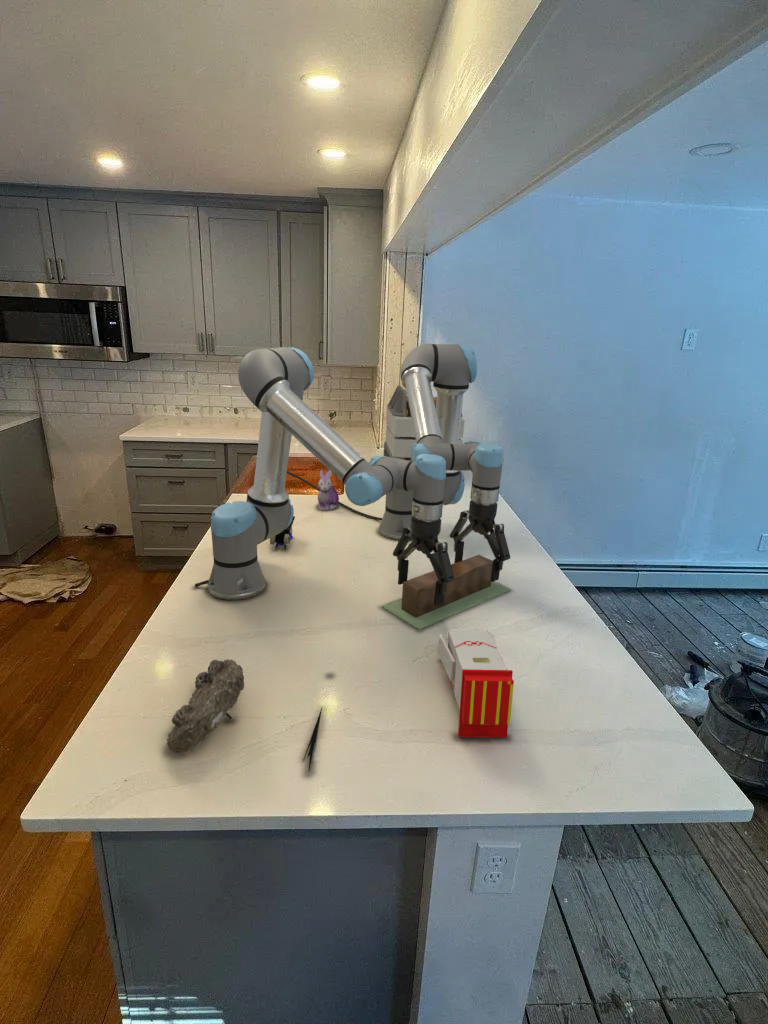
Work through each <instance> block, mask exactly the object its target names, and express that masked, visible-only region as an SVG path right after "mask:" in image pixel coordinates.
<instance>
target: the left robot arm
mask: <svg viewBox="0 0 768 1024" xmlns="http://www.w3.org/2000/svg"><path fill="white" fill-rule="evenodd" d="M314 371H315V370H314V366H313V363H312V361H311V360H310V359H309V357H308V355H307V354H306V353H305V352H303V351H302V350H301V349H299V348H296V347H291V346H279V347H272V348H271V347H269V348H257V349H253V350H251V351H250V352H248V353H246V354H245V356H243V358H242V359H241V361H240V363H239V365H238V370H237V377H238V378H237V379H238V382H239V386H240V388H241V390H242V391H243V393H244V395H245V396H246V397H247V399H248V400H249V401H250V403H252V404H253V406H255V407H256V408H257V409H258V410H259V411H260V412H261V416H260V418H261V419H260V425H259V433H258V444H257V453H256V459H255V461H256V462H255V471H254V480H253V485H251V486H250V487H249V488H248V489H247V493H246V501H244V500H242V501H241V500H238V501H237V500H236V501H232V502H226V503H223V504H221V505H219V506H217V507H216V508H215V509H214V510H213V511H212V513H211V518H210V532H211V545H212V557H213V565H212V568H211V571H210V574H209V578H208V579H207V580H202V581H199V582H197V583H194V586H195V588H198V587H201V586H204V585H207V588H208V589H207V590H208V593H209V594H210V595H211V596H213V597H214V598H217V599H220V600H226V601H239V600H246V599H250V598H253V597H254V596H257V595H260V593H262V592H263V591H264V590H265V589H266V579H265V575H264V573H263V570H262V567H261V565H260V563H259V559H258V557H259V556H258V546H259V544H262V543H263V542H265V541H267V540H270V538H271V537H273V536H275V535H277V534H279V533H281V532H282V531H284V530H285V529H286V528H287V527H288V526H289V525H290V523H291V522H292V519H293V516H294V513H295V511H294V505H293V504H291V503H292V501H291V500H290V495H289V493H288V491H287V490H286V488H285V487H286V481H287V471H288V466H289V458H290V452H291V445H292V444H291V443H292V436H293V437H294V438H295V439H296V440H297V441H298V442H299V443H300V444H301V445H302V446H303V447H305V449H306V450H307V451H309V453H311V454H312V455H313V456H314V457H315V458H316V459H317V460H318V461H319V462H320V463H321V464H322V465H324V466H325V467H326V469H328V471H329V470H330V471H331V472H332V474H333V475H334V476H335V477H336V478H338V480H339V481H341V482H342V484H344V492H345V495H346V497H347V499H348V501H349V502H350V503H352V504H353V505H355V506H358V507H366V506H369V505H372V504H374V503H376V502H378V501H379V500H380V499H381V498H383V497H384V496H386V494H388V493H389V492H391V491H393V490H394V489H398V490H403V491H408V492H413V503H412V515H413V516H412V517H411V526H410V527H406V528H403V532H402V536H401V538H400V540H398V542H397V544H396V546H395V548H394V549H393V552H392V556H393V557H396V560H397V571H398V574H397V575H398V577H397V584H398V585H399V586H401V585H403V582H404V581H407V580H408V576H409V559H408V558H409V557H410V556H411V555H412V553H414V552H415V551H417V552H421V553H422V554H424V555H426V558H427V559H429V562H430V564H431V566H432V568H433V571H435V573H436V576H437V578H438V581H436V587H435V598H434V605H439V604H441V603H443V602H444V593H446V591H447V590H446V589H447V583H449V582H452V581H454V580H455V579H454V574H453V570H452V566H451V564H452V563H451V562H452V561H451V559H450V554H449V544H448V542H447V541H444V542H441V541H439V535H440V533H441V528H442V519H441V518H442V517H443V508H444V505H443V495H444V487H445V479H446V461H445V459H444V458H443V457H441V456H438V455H433V454H431V455H429V454H422V455H418V456H417V457H416V461H414V462H413V461H407V460H402V459H396V458H391V457H388V456H384V455H374V456H372V457H371V459H370V460H369V461H367V460H366V459H365V458H364V457H363V456H362V455H361V454H360V453H359V452H357V450H355V448H353V446H351V445H350V444H349V443H348V442H347V441H346V440H345V439H344V438H343V437H342V436H340V435H339V434H338V432H336V431H335V430H334V429H333V428H332V427H331V426H330V425H329V424H328V423H327V422H326V421H324V419H322V417H320V416H319V415H318V414H317V413H316V412H315V410H313V409H312V408H311V407H310V406H308V404H307V403H306V402H305V401H303V398H304V391H306V390H307V389H309V387H311V385H312V384H313V380H314V375H315V374H314ZM411 537H412V539H411V540H412V541H411V542H410V538H411ZM409 542H410V543H409ZM442 576H443V577H442Z"/></svg>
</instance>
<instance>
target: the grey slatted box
mask: <svg viewBox="0 0 768 1024" xmlns="http://www.w3.org/2000/svg"><path fill="white" fill-rule="evenodd" d="M433 399H434V403H435V408H436V402H437V396H433ZM385 414H386V415H385V423H386V428H385V438H384V442H383V456H388V457H391V458H396V459H402V460H407V461H411V449H412V446H413V445H414V444H417V443H416V438H415V433H414V428H413V422H412V417H411V412H410V407H409V402H408V396H407V391H406V389H405V388H404V387H402V385H399V384H398V385H397V386H396V388H395V390H394V392H393V394H392V395H391V398H390V400H389V402H388V404H387V405H386V413H385ZM464 429H465V419H464V418H463V412H462V413H461V423H460V433H459V443H458V444H463V443H464V441H463V440H462V439H463V438H464V431H465V430H464Z"/></svg>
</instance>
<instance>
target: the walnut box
mask: <svg viewBox="0 0 768 1024" xmlns="http://www.w3.org/2000/svg"><path fill="white" fill-rule="evenodd" d="M492 565H493V559H490V558H488V557H486V556H483V555H481V554H476V555H474V556H471V557H468V558H465V559H463V560H462V561H460V562H457V563H451V566H452V570H453V574H454V579H455V580H454V581H452V582H449V583H447V589H446V590H447V591H446V593H444V602H443V603H441V604H439V605H434V598H435V587H436V581H438V578H437V576H436V573H435V571H434V570H432V571H429V572H426V573H424V574H420V575H418V576H416V577H412V578H409V579H407V581H404V582H403V584H402V590H401V591H402V592H401V599H402V606H401V609H402V610H404V611H405V612H407V613H409V614H410V615H412V616H414V617H415V618H417V617H419V616H421V615H424V614H426V613H429V612H431V611H433V610H436V609H438V608H440V607H443V606H445V605H447V604H450V603H452V602H455V601H457V600H459V599H462V598H464V597H466V596H469V595H471V594H473V593H476V592H478V591H480V590H483V589H485V588H488V587H490V586H491V573H492ZM442 577H443V576H442Z"/></svg>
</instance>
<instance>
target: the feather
mask: <svg viewBox="0 0 768 1024" xmlns="http://www.w3.org/2000/svg"><path fill="white" fill-rule="evenodd" d="M329 675H330V676H331V675H332V674H331V673H330V674H329ZM322 710H323V707H321V708H320V710H319V713H318V716H317V719H316V723H315V725H314V728H313V731H312V733H311V737H310V739H309V742H308V745H307V748H306V751H305V754H304V757H303V760H302V763H301V767H302V765H303V763H304V761H305V758H308V759H309V760H308V762H307V763H308V764H307V766H308V771H310V770H311V766H312V765H311V764H312V760H313V757H315V756H314V755H315V751H316V749H315V746H317V739H318V733H319V729H320V722H321V717H322V712H323V711H322ZM313 754H314V755H313ZM306 755H307V757H306Z"/></svg>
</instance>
